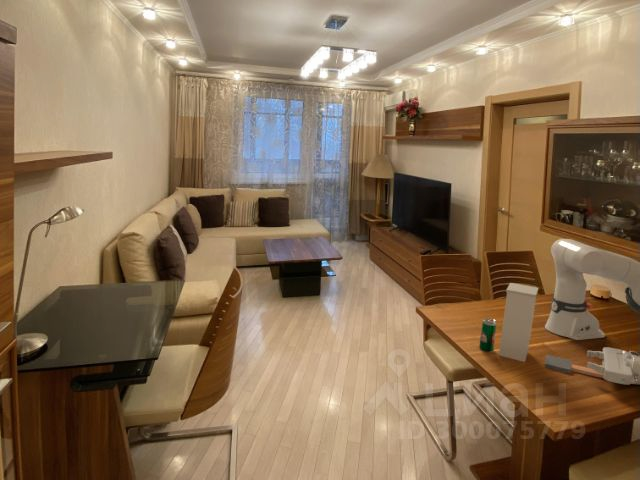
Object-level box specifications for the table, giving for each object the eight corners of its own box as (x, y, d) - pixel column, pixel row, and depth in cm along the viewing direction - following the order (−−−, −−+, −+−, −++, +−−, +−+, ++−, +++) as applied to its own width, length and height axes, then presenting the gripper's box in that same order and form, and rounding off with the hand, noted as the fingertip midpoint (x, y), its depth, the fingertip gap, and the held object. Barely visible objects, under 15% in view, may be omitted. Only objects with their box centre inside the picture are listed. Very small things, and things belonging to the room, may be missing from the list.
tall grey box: (528, 352, 161) (538, 287, 155) (525, 362, 153) (535, 295, 147) (501, 345, 166) (510, 282, 160) (497, 355, 158) (506, 289, 152)
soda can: (476, 346, 164) (480, 317, 162) (489, 346, 165) (493, 317, 162) (482, 352, 159) (486, 323, 157) (495, 352, 160) (499, 323, 157)
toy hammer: (603, 371, 148) (604, 367, 148) (605, 382, 141) (605, 378, 141) (545, 358, 157) (546, 354, 157) (544, 367, 150) (545, 363, 150)
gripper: (637, 393, 131) (586, 380, 138) (631, 366, 149) (585, 355, 155) (641, 375, 130) (589, 362, 137) (635, 349, 147) (588, 339, 154)
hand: (587, 358), depth 146 cm, fingers open, 8 cm apart
